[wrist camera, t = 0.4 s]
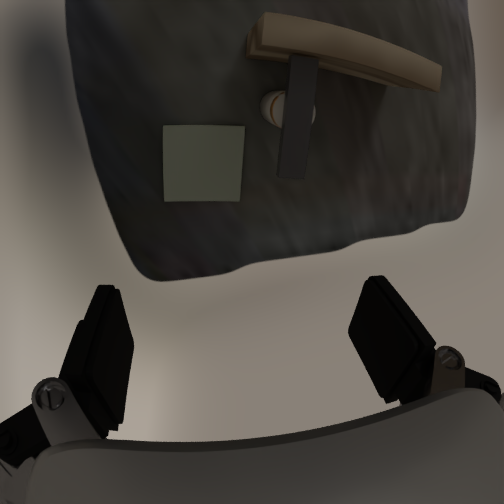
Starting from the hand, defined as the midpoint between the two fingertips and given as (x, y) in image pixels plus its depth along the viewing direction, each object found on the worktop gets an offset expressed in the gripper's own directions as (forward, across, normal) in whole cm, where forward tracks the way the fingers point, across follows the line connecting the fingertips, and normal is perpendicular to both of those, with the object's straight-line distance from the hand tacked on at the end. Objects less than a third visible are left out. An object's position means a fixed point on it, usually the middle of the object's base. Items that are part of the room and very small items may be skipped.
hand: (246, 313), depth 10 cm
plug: (+25, -6, -7) cm, 27 cm away
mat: (+25, +2, 0) cm, 25 cm away
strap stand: (+25, -11, -14) cm, 30 cm away
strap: (+18, -6, -6) cm, 20 cm away
